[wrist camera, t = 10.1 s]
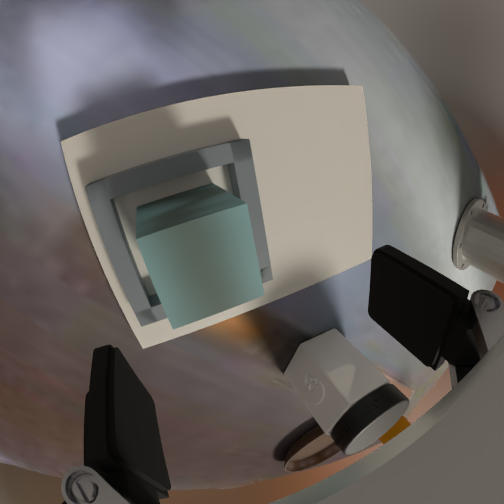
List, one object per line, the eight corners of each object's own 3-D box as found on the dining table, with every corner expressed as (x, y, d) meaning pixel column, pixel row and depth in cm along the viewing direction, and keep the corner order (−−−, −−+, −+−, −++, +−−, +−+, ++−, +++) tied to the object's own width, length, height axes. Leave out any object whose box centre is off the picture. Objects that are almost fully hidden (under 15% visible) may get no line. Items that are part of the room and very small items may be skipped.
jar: (306, 325, 28) (381, 406, 18) (356, 328, 32) (423, 389, 22) (273, 386, 30) (326, 466, 20) (323, 382, 34) (375, 445, 24)
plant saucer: (363, 420, 49) (371, 429, 46) (296, 466, 47) (302, 476, 44) (349, 394, 40) (360, 406, 37) (261, 453, 38) (268, 467, 35)
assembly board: (350, 87, 20) (375, 84, 17) (361, 252, 27) (381, 264, 24) (66, 141, 14) (53, 141, 11) (141, 337, 21) (144, 361, 19)
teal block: (212, 182, 17) (247, 203, 12) (228, 252, 20) (264, 295, 15) (136, 206, 16) (136, 239, 11) (160, 275, 18) (172, 329, 13)
